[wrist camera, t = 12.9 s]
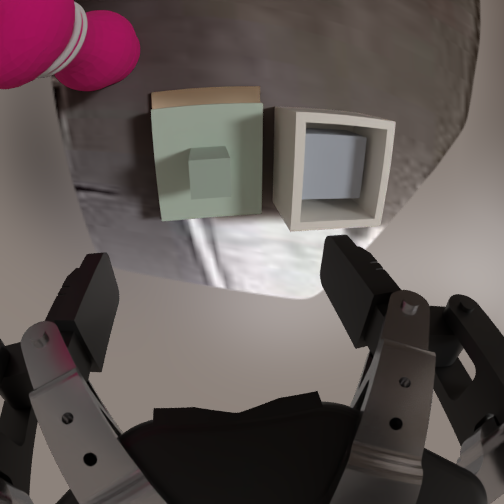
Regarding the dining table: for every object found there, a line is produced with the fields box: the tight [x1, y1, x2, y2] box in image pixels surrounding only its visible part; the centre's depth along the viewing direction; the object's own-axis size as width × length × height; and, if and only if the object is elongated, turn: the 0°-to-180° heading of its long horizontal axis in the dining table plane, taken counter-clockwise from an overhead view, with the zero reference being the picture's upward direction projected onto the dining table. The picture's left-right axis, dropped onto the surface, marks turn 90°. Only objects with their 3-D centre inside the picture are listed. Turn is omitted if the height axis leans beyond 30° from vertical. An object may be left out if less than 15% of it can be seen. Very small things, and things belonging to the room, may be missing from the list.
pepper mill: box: [0, 0, 140, 91], centre depth 12 cm, size 7×7×20 cm
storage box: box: [272, 107, 395, 232], centre depth 26 cm, size 10×9×7 cm
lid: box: [151, 103, 263, 221], centre depth 24 cm, size 11×10×7 cm
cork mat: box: [151, 86, 260, 109], centre depth 27 cm, size 13×10×1 cm
